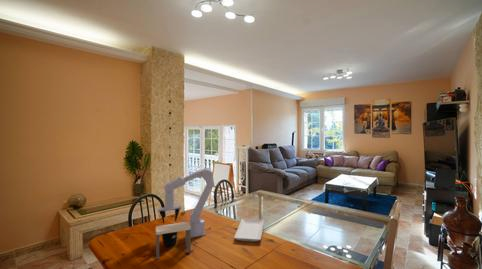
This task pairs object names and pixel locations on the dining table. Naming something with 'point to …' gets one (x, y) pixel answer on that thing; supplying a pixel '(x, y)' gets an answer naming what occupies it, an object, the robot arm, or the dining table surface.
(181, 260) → the dining table surface
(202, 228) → the robot arm
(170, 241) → the mug
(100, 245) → the dining table surface
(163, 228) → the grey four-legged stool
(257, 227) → the tray
